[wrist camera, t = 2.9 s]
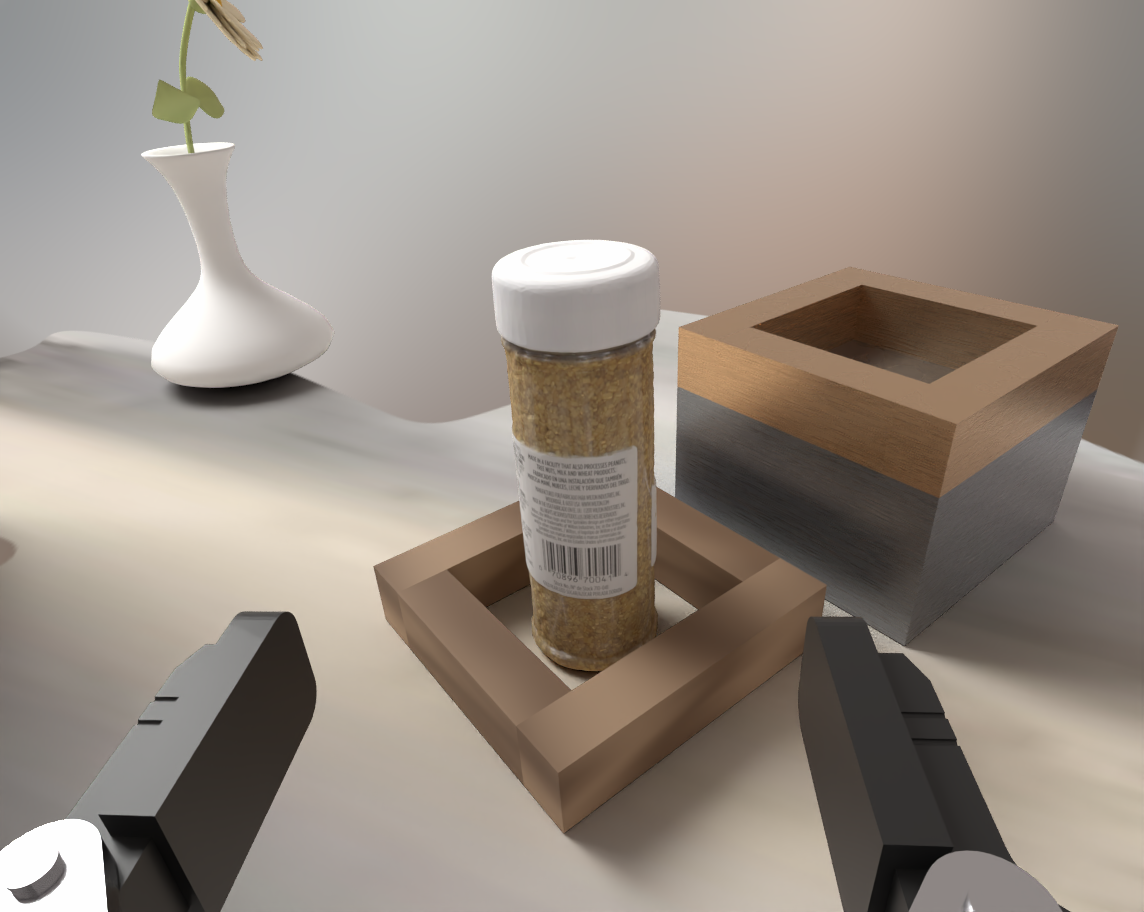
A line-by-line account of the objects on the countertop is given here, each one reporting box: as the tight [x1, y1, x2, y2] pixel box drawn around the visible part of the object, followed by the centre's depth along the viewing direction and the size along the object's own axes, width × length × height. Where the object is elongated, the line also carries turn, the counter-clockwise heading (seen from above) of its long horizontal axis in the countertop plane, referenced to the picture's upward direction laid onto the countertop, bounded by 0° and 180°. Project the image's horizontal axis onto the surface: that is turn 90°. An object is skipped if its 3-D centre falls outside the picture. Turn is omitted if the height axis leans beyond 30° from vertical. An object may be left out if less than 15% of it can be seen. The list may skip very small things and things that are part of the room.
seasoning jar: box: [492, 240, 660, 671], centre depth 23 cm, size 5×5×13 cm
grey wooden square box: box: [675, 267, 1118, 646], centre depth 30 cm, size 11×11×8 cm
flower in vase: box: [142, 0, 334, 388], centre depth 44 cm, size 13×11×25 cm
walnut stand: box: [374, 487, 827, 833], centre depth 26 cm, size 11×11×2 cm
